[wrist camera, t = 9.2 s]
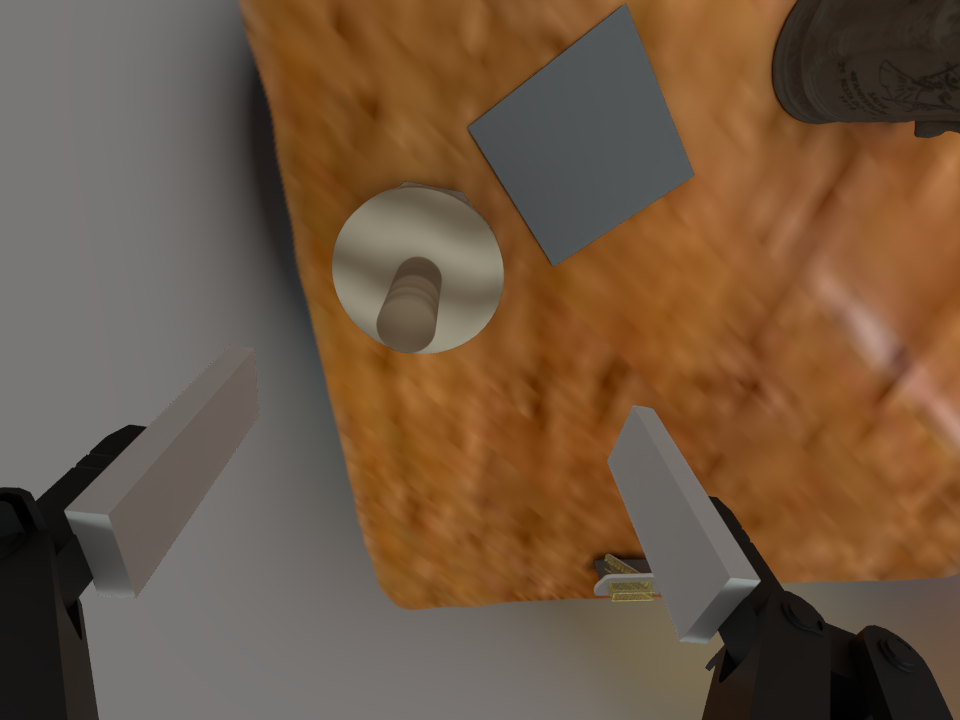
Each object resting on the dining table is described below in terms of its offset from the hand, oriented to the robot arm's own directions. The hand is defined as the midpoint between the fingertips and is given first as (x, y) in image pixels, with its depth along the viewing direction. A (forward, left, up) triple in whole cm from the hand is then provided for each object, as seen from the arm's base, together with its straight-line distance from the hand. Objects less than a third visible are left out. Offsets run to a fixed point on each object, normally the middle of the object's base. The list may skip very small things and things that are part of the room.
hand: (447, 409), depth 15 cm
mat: (-8, +9, -28) cm, 30 cm away
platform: (+42, +31, -28) cm, 60 cm away
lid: (+3, -3, -22) cm, 23 cm away
